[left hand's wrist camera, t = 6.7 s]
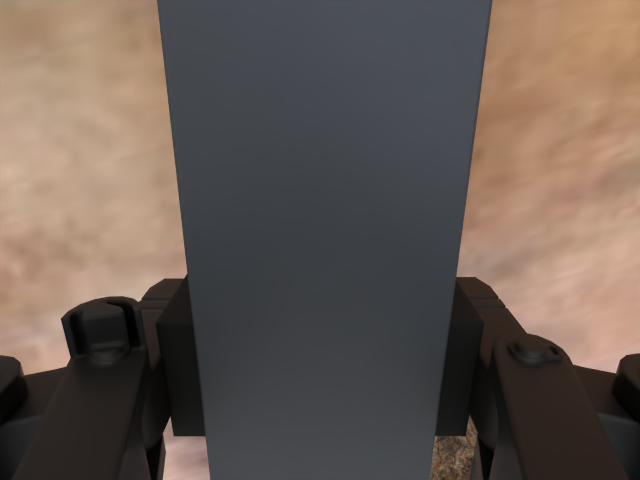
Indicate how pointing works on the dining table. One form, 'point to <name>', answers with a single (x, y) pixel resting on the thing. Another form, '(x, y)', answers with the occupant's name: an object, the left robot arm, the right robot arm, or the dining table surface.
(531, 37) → the dining table surface
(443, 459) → the rock
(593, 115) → the dining table surface
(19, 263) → the dining table surface
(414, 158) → the bar
